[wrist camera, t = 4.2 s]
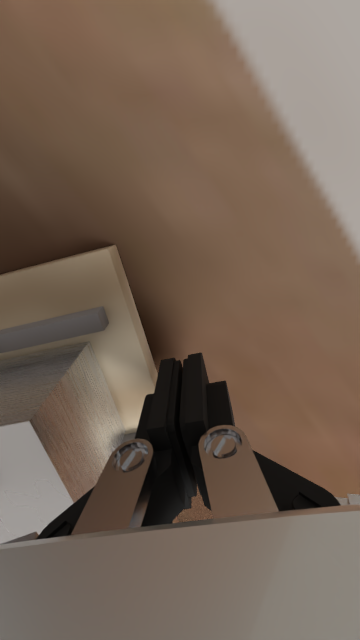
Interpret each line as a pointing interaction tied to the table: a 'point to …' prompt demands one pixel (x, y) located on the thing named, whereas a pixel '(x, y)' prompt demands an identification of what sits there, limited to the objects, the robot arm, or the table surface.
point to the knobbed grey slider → (52, 434)
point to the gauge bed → (81, 322)
